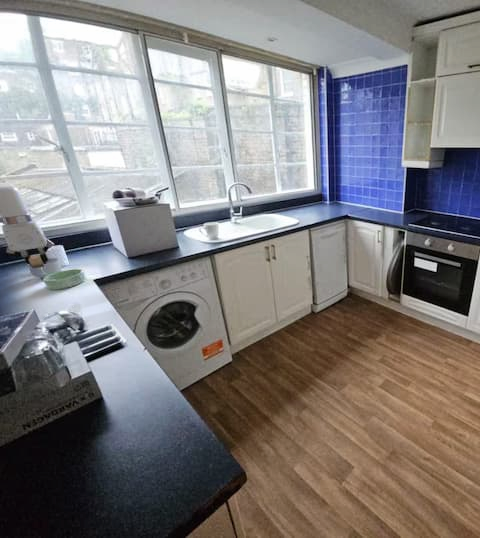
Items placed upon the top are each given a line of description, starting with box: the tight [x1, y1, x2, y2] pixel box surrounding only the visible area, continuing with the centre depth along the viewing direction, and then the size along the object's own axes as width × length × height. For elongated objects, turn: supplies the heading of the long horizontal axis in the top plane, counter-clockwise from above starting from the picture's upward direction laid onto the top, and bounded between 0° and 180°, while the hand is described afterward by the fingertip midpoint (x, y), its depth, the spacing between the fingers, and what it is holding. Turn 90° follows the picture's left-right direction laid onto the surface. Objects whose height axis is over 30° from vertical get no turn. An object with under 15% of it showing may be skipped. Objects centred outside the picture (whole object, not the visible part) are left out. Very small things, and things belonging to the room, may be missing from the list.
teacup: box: [26, 258, 63, 279], centre depth 140 cm, size 14×11×8 cm
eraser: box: [28, 253, 45, 269], centre depth 119 cm, size 6×3×4 cm, turn 38°
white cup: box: [46, 244, 70, 268], centre depth 154 cm, size 8×8×10 cm
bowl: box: [42, 268, 87, 291], centre depth 133 cm, size 13×13×4 cm
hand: (39, 263), depth 119 cm, fingers closed on eraser, 3 cm apart
